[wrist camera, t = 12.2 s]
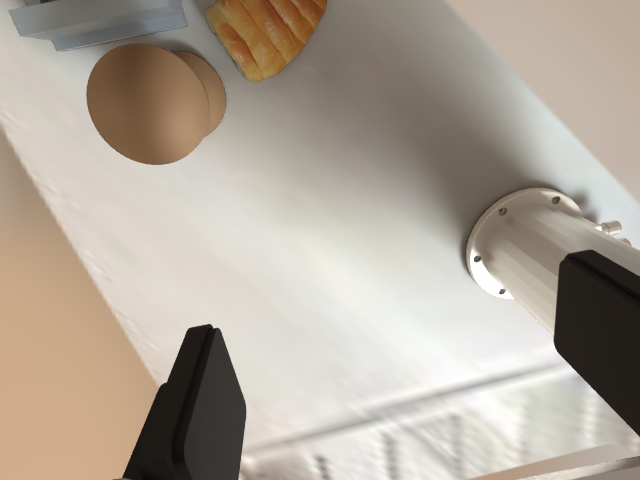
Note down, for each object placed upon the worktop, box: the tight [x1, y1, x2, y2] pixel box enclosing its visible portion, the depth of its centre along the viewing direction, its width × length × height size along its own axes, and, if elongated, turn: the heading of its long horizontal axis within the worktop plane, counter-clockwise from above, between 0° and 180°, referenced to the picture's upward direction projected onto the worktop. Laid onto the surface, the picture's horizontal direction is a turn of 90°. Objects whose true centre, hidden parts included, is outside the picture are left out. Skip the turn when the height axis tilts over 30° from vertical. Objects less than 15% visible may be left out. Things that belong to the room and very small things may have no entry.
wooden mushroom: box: [87, 44, 226, 165], centre depth 28 cm, size 7×7×10 cm
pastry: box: [205, 0, 327, 82], centre depth 30 cm, size 9×7×4 cm
